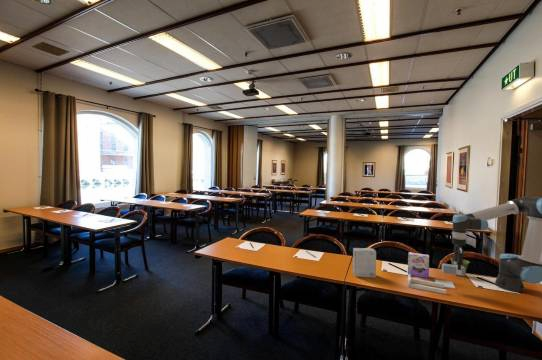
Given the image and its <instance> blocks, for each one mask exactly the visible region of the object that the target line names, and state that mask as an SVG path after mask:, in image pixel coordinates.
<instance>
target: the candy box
mask: <svg viewBox="0 0 542 360" xmlns="http://www.w3.org/2000/svg"><path fill="white" fill-rule="evenodd" d="M407 261H408V262H407V275H408V274H410V276H414V277H419V278H422V279H423V278H425V279H429V274H430V272H429V271H430V255H429V254H423V253H417V252H416V253H415V252H412V251H411V252H410V251H408V258H407Z"/></svg>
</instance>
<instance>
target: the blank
mask: <svg viewBox="0 0 542 360" xmlns="http://www.w3.org/2000/svg"><path fill="white" fill-rule="evenodd" d="M441 272H442V273H443V274H449V275H455V276H458V274H456V265H452V263H451V264H450V263H449V264H448V263H443V262H442V263H441ZM465 276H466V274H465V268H464V267H463V266H462V272H461V276H460V277H465Z"/></svg>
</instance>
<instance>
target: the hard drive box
mask: <svg viewBox="0 0 542 360" xmlns="http://www.w3.org/2000/svg"><path fill="white" fill-rule="evenodd" d="M352 274H353V276H354V277H356V278H375V279H376V278H377V277H376V276H377V251H376V250H375V249H374V248H367V247H365V248H364V247H363V248H361V247H353V248H352Z"/></svg>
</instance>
